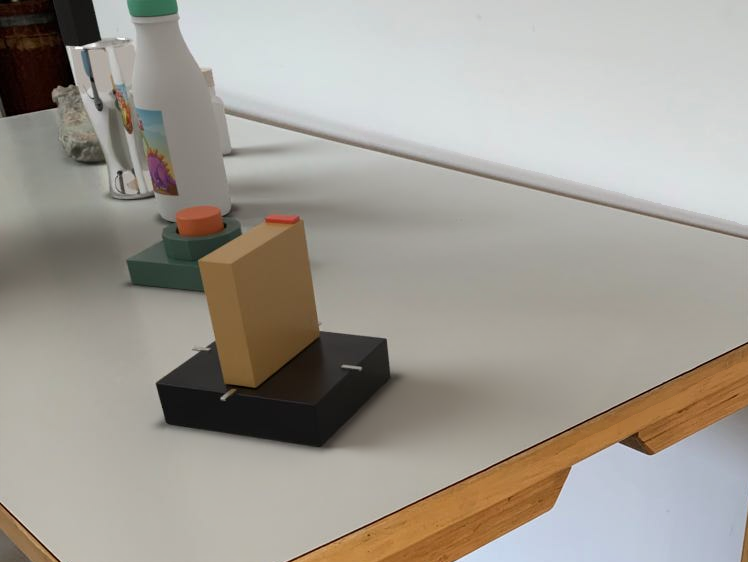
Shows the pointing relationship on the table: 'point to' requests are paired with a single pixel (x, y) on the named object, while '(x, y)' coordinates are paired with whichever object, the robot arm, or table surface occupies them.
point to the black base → (280, 391)
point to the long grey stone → (76, 126)
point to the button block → (179, 257)
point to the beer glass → (114, 113)
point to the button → (199, 221)
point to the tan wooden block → (261, 299)
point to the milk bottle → (175, 114)
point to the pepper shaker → (218, 112)
